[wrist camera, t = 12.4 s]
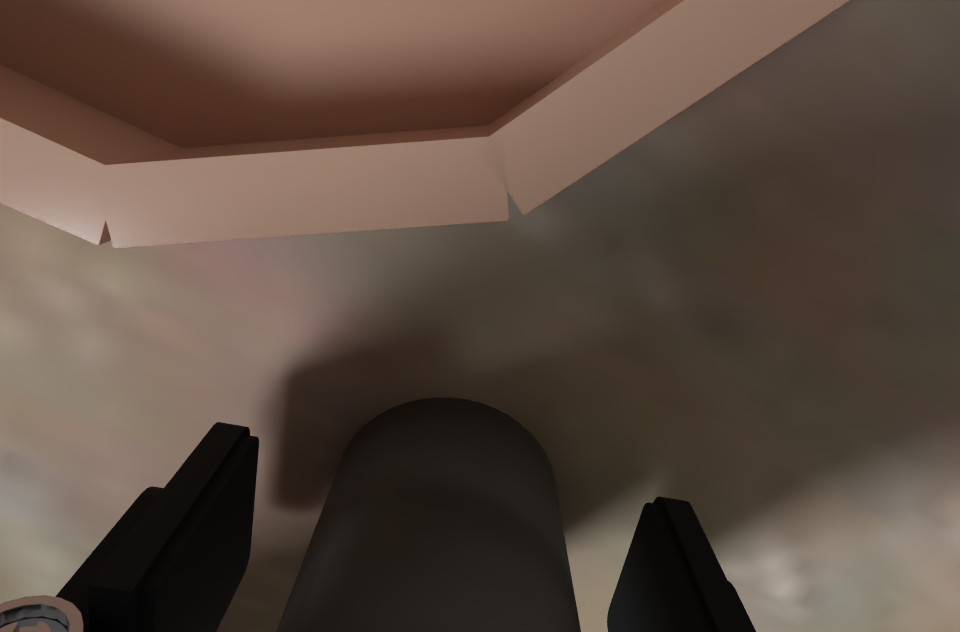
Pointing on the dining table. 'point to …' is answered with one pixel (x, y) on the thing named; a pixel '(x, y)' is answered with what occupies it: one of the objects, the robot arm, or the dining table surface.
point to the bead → (438, 530)
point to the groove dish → (343, 106)
